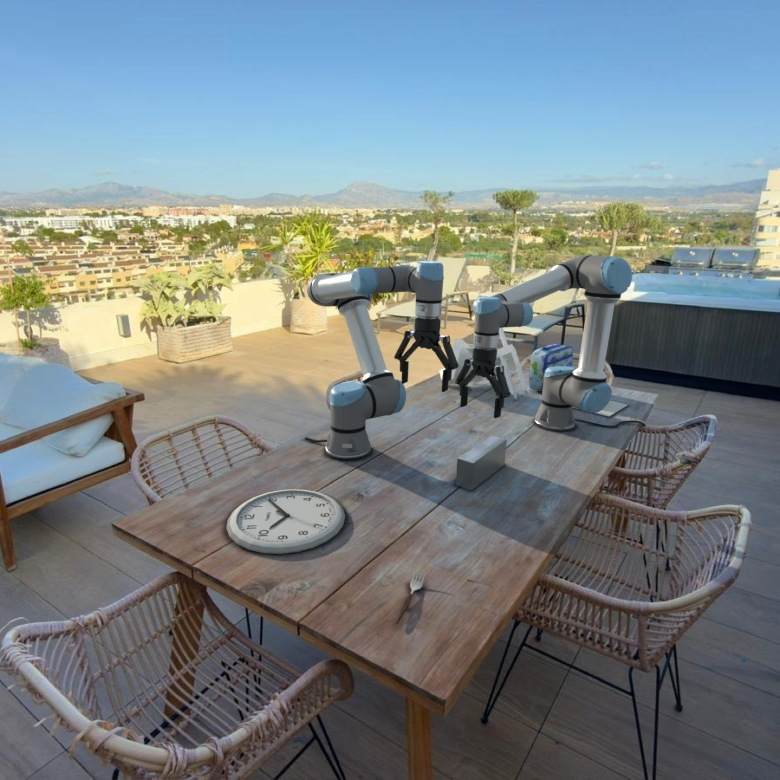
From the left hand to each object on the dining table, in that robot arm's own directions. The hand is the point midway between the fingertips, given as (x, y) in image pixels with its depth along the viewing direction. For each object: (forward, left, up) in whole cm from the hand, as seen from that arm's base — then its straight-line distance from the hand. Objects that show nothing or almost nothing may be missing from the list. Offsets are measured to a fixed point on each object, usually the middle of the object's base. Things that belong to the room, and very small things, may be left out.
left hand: (424, 386), depth 158 cm
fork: (+26, -56, -27) cm, 67 cm away
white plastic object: (-14, +86, -27) cm, 91 cm away
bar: (+18, +6, -27) cm, 33 cm away
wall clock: (-15, -46, -27) cm, 55 cm away
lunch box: (+11, +111, -27) cm, 114 cm away
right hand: (+12, +17, -11) cm, 24 cm away
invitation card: (+38, +96, -27) cm, 107 cm away
